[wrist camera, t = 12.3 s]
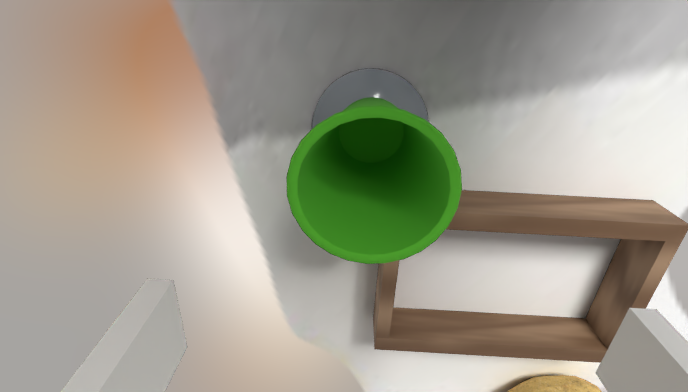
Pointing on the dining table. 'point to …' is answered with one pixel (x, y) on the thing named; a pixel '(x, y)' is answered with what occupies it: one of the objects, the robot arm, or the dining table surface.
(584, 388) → the potato
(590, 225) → the pocket frame
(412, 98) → the coaster
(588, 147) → the dining table surface
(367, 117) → the cup
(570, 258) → the dining table surface
